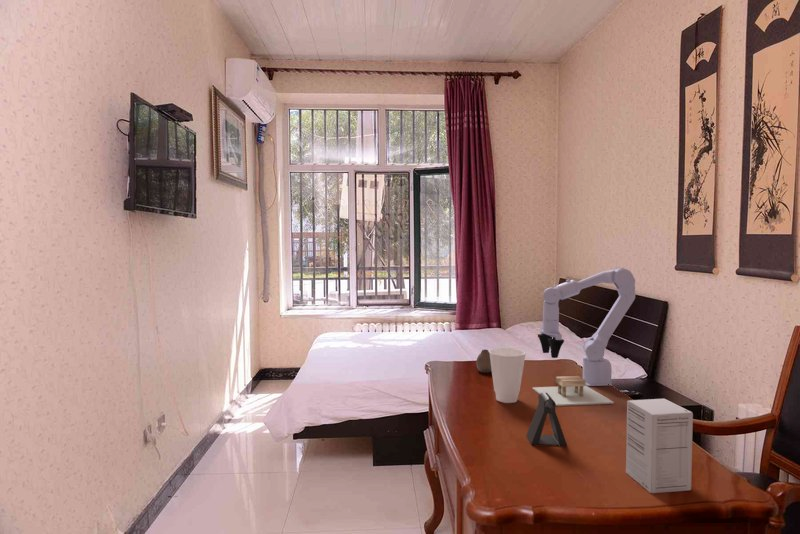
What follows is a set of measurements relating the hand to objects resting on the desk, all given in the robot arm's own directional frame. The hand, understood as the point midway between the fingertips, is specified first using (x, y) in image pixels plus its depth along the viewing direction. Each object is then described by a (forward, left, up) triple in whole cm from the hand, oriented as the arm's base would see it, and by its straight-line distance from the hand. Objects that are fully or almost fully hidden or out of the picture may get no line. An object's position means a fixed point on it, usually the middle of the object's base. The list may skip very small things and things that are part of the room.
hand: (550, 355), depth 179 cm
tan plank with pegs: (+1, +19, -9) cm, 21 cm away
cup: (+24, +20, -10) cm, 33 cm away
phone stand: (+25, +53, -10) cm, 59 cm away
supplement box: (+10, +76, -10) cm, 77 cm away
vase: (+21, -14, -10) cm, 27 cm away
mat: (+1, +19, -9) cm, 21 cm away
